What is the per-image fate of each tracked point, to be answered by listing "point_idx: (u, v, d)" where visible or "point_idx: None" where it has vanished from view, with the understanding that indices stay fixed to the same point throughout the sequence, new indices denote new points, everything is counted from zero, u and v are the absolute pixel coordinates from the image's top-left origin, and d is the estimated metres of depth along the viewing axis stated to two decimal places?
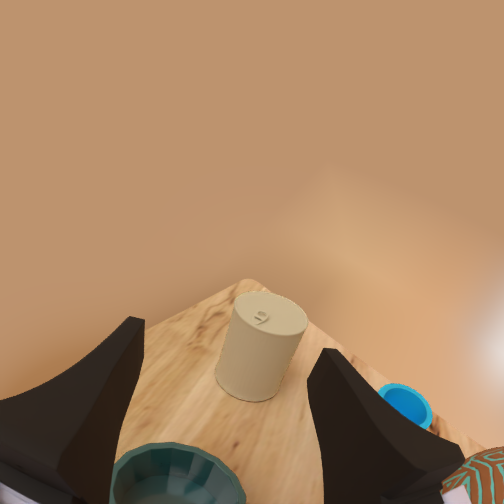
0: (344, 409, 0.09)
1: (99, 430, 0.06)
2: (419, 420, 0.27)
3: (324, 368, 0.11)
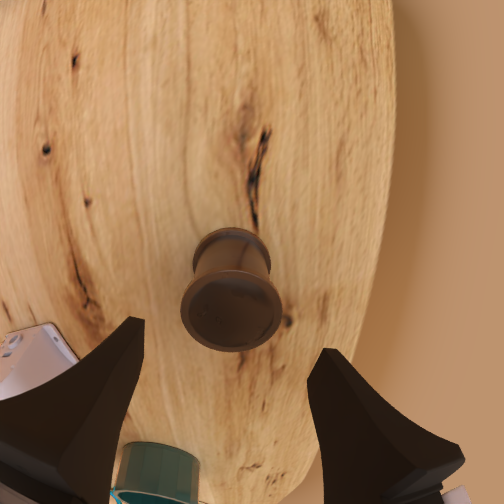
0: (344, 409, 0.09)
1: (99, 430, 0.06)
2: None
3: (324, 368, 0.11)
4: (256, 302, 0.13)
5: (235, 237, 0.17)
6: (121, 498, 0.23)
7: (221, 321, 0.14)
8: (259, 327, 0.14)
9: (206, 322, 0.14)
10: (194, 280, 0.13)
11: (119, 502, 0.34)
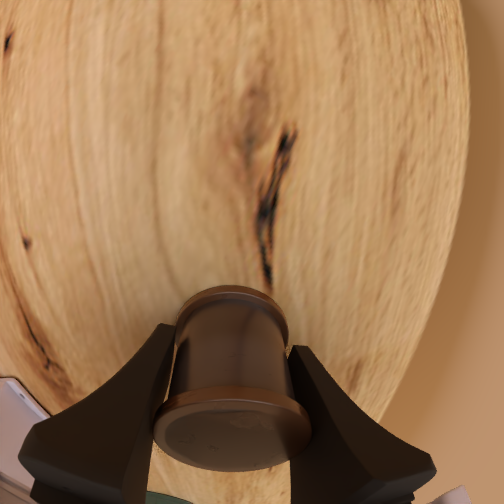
0: (309, 409, 0.08)
1: (143, 442, 0.06)
2: None
3: (293, 366, 0.10)
4: (273, 432, 0.07)
5: (236, 304, 0.11)
6: None
7: (217, 449, 0.08)
8: (275, 452, 0.08)
9: (194, 449, 0.07)
10: (168, 405, 0.07)
11: None
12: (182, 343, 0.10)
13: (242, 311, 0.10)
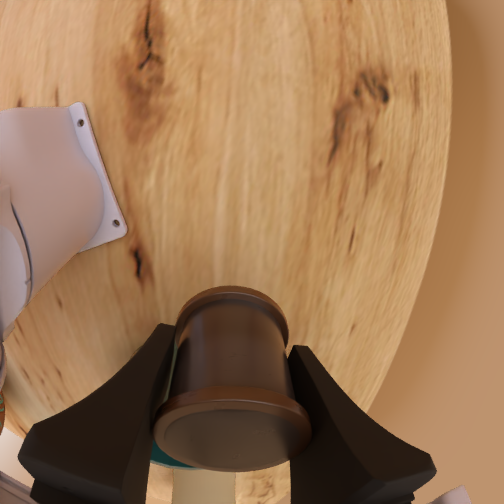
0: (309, 409, 0.08)
1: (143, 442, 0.06)
2: None
3: (293, 366, 0.10)
4: (273, 432, 0.07)
5: (236, 305, 0.11)
6: None
7: (217, 449, 0.07)
8: (275, 452, 0.08)
9: (194, 449, 0.07)
10: (168, 405, 0.07)
11: None
12: (182, 343, 0.10)
13: (242, 311, 0.10)
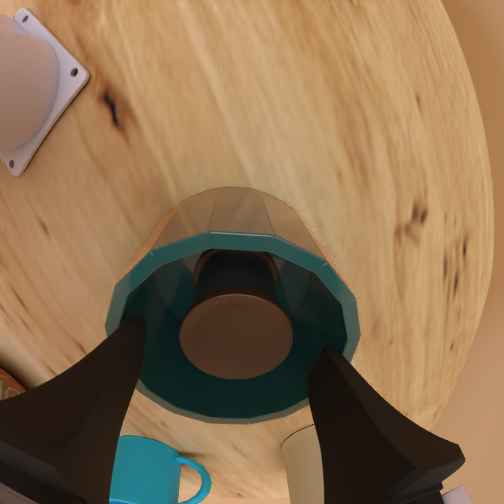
0: (344, 409, 0.09)
1: (99, 430, 0.06)
2: None
3: (324, 368, 0.11)
4: (265, 328, 0.12)
5: (240, 251, 0.15)
6: (147, 386, 0.12)
7: (225, 348, 0.12)
8: (268, 354, 0.12)
9: (208, 349, 0.12)
10: (194, 304, 0.11)
11: (205, 473, 0.23)
12: (201, 277, 0.14)
13: (244, 255, 0.15)
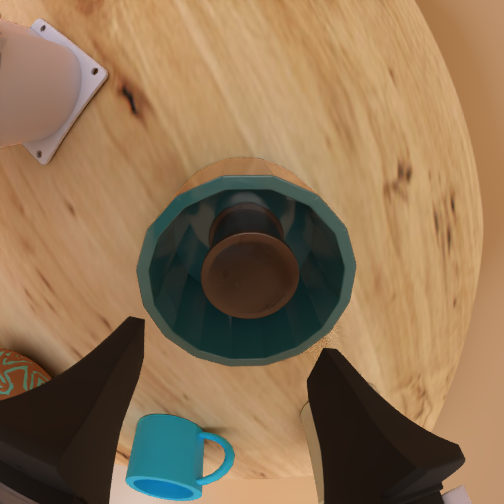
0: (344, 409, 0.09)
1: (99, 430, 0.06)
2: (142, 478, 0.24)
3: (324, 368, 0.11)
4: (274, 264, 0.14)
5: (248, 210, 0.18)
6: (173, 330, 0.14)
7: (241, 286, 0.14)
8: (278, 289, 0.15)
9: (226, 288, 0.14)
10: (213, 246, 0.14)
11: (227, 445, 0.26)
12: (216, 233, 0.17)
13: (252, 212, 0.17)
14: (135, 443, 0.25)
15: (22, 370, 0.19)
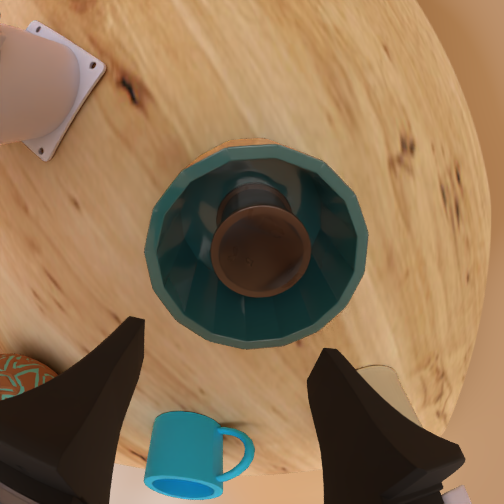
0: (344, 409, 0.09)
1: (99, 430, 0.06)
2: (161, 478, 0.24)
3: (324, 368, 0.11)
4: (285, 237, 0.14)
5: (254, 189, 0.17)
6: (185, 313, 0.14)
7: (252, 262, 0.14)
8: (290, 264, 0.14)
9: (237, 265, 0.14)
10: (221, 222, 0.13)
11: (247, 439, 0.26)
12: (224, 213, 0.17)
13: (258, 191, 0.17)
14: (152, 442, 0.25)
15: (33, 373, 0.19)
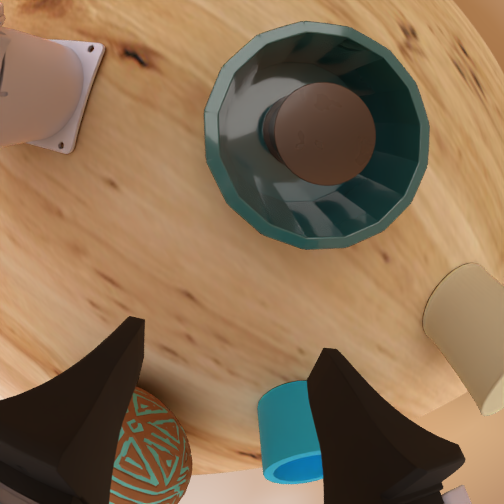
0: (344, 409, 0.09)
1: (99, 430, 0.06)
2: (281, 467, 0.23)
3: (324, 368, 0.11)
4: (343, 109, 0.12)
5: None
6: (270, 222, 0.13)
7: (322, 144, 0.12)
8: (359, 137, 0.12)
9: (308, 152, 0.12)
10: (277, 112, 0.12)
11: None
12: (272, 124, 0.15)
13: None
14: (262, 429, 0.24)
15: None
